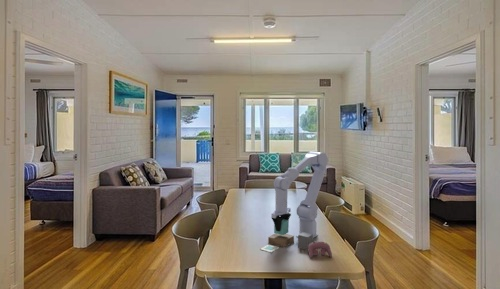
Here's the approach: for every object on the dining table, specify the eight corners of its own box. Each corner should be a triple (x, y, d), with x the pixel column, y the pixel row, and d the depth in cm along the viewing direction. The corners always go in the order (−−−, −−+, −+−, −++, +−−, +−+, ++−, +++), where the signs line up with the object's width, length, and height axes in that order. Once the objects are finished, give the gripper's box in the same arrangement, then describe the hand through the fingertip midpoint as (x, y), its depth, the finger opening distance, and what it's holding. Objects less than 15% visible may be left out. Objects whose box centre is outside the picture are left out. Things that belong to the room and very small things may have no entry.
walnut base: (278, 237, 157) (278, 232, 157) (293, 241, 152) (293, 235, 151) (268, 243, 150) (268, 236, 150) (284, 247, 144) (284, 241, 144)
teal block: (279, 230, 154) (279, 218, 154) (288, 232, 151) (288, 220, 150) (274, 232, 150) (274, 220, 150) (283, 235, 147) (283, 222, 147)
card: (268, 245, 147) (268, 244, 147) (279, 247, 144) (279, 247, 144) (260, 249, 142) (260, 248, 142) (271, 252, 138) (271, 251, 138)
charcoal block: (303, 244, 149) (303, 232, 148) (312, 246, 146) (312, 234, 145) (298, 247, 145) (298, 234, 144) (307, 250, 142) (307, 237, 141)
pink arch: (330, 258, 136) (328, 241, 139) (333, 257, 132) (331, 240, 135) (307, 258, 136) (306, 242, 138) (310, 258, 131) (308, 240, 134)
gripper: (280, 206, 141) (280, 235, 142) (296, 200, 153) (295, 227, 154) (267, 203, 146) (267, 232, 146) (283, 198, 157) (283, 224, 158)
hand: (281, 229), depth 150 cm, fingers closed on teal block, 5 cm apart
